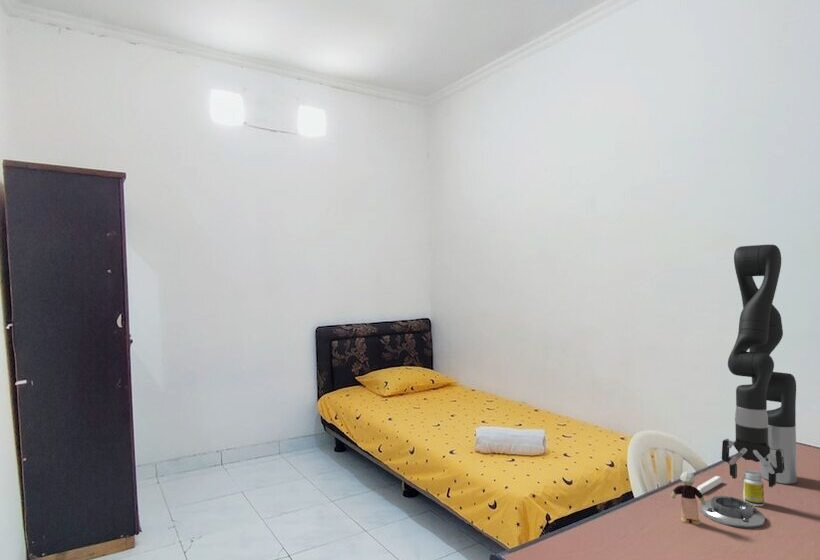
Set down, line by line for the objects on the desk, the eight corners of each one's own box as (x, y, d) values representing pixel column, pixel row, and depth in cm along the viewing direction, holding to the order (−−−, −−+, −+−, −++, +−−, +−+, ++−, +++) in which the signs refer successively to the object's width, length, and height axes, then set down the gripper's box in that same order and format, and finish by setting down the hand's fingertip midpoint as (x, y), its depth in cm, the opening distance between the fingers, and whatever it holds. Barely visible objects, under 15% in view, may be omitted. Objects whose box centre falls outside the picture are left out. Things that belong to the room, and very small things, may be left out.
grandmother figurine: (703, 519, 128) (702, 470, 128) (707, 526, 124) (706, 476, 124) (670, 515, 130) (669, 467, 130) (673, 522, 126) (672, 472, 127)
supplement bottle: (767, 507, 134) (766, 476, 135) (748, 506, 135) (747, 475, 135) (758, 500, 139) (758, 470, 139) (740, 498, 140) (739, 469, 140)
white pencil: (695, 499, 142) (717, 484, 152) (701, 497, 141) (724, 483, 151) (690, 490, 144) (712, 476, 153) (696, 488, 142) (719, 474, 152)
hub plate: (710, 499, 140) (710, 488, 140) (770, 515, 129) (770, 503, 129) (693, 515, 130) (693, 503, 130) (757, 534, 120) (756, 521, 120)
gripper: (785, 426, 135) (786, 486, 134) (726, 416, 145) (726, 472, 145) (779, 431, 130) (781, 493, 129) (718, 420, 140) (719, 478, 140)
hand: (752, 482), depth 137 cm, fingers open, 8 cm apart
